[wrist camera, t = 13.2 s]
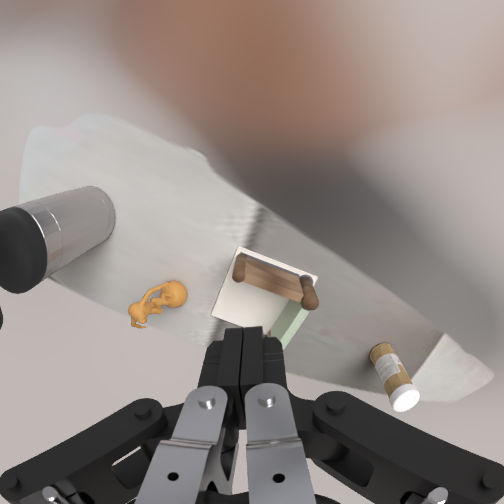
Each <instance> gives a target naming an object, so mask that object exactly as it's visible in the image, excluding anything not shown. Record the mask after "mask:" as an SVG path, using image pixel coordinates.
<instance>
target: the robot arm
mask: <svg viewBox="0 0 504 504" xmlns="http://www.w3.org/2000/svg"><path fill="white" fill-rule="evenodd" d="M114 224H115V211H114V207H113V204H112V202H111V200H110V198H109V197H108V196H107V194H106V193H105V192H103V191H102V190H101V189H99V188H97V187H92V186H87V187H83V188H79V189H74V190H70V191H66V192H62V193H58V194H55V195H51V196H47V197H44V198H40V199H37V200H33V201H30V202H26V203H23V204H20V205H17V206H14V207H11V208H7V209H5V210H2V211H0V286H1V287H2V288H3V289H5V290H7V291H9V292H11V293H16V294H20V293H24V292H27V291H28V290H30V289H32V288H33V287H34V286H36V285H37V284H39V283H40V282H41V281H43V280H44V279H46V278H47V277H49V276H50V275H52V274H53V273H54V272H56V271H57V270H59V269H60V268H62V267H63V266H65V265H66V264H68V263H70V262H71V261H73V260H74V259H76V258H77V257H79V256H80V255H82V254H84V253H85V252H87V251H88V250H90V249H92V248H93V247H95V246H97V245H98V244H100V243H101V242H103V241H105V240H106V239H107V238H108V237H109V236H110V234H111V233H112V230H113V228H114ZM2 324H3V315H2V311H1V308H0V329H1V327H2ZM246 428H247V445H246V457H247V473H248V489H249V492H244V493H240V494H235V495H232V483H233V477H234V472H235V465H236V459H237V453H238V448H239V444H238V438H239V430H244V429H246ZM139 446H140V447H141V449H139V450H138V451H136V452H135V453H133V454H131V455H130V456H128V457H127V458H125V459H124V460H122V461H120V462H119V463H117V464H116V465H113V466H112V464H113V463H114V462H115V461H117V460H119V459H120V458H122V457H123V456H125V455H127V454H128V453H129V452H131V451H133V450H134V449H136V448H137V447H139ZM306 458H311V459H312V461H313V462H314V463H315V464H316V465H317V466H318V467H320V468H321V469H323V470H324V471H326V472H327V473H328V474H330V475H331V476H333V477H334V478H336V479H337V480H338V481H340V482H342V483H343V484H345V485H346V486H348V487H349V488H351V489H352V490H354V491H355V492H357V493H358V494H360V495H362V496H363V497H365V498H366V499H368V500H370V501H371V502H373V503H375V504H495V503H497V502H498V501H499V500H500V499H501V498H502V497H503V496H504V466H503V465H501V464H499V463H497V462H494V461H492V460H489V459H486V458H484V457H481V456H479V455H476V454H474V453H471V452H469V451H467V450H464V449H461V448H459V447H457V446H455V445H452V444H450V443H448V442H446V441H443V440H441V439H439V438H437V437H434V436H432V435H430V434H428V433H425V432H423V431H421V430H419V429H417V428H415V427H413V426H411V425H409V424H407V423H405V422H403V421H401V420H398V419H396V418H395V417H393V416H391V415H389V414H387V413H385V412H383V411H381V410H379V409H377V408H375V407H373V406H371V405H369V404H367V403H365V402H363V401H362V400H360V399H358V398H356V397H354V396H352V395H351V394H348V393H346V392H342V391H331V392H327V393H324V394H322V395H321V396H319V397H318V398H317V399H316V400H315V401H313V400H305V399H301V398H298V397H296V396H294V395H293V394H291V393H290V391H289V390H288V388H287V383H286V374H285V365H284V356H283V348H282V343H281V342H280V341H279V340H278V338H277V337H267V338H264V337H263V327H262V326H254V327H245V328H243V327H242V328H226V329H225V334H224V339H223V341H213V342H212V343H211V345H210V346H209V347H208V348H207V351H206V354H205V359H204V362H203V366H202V370H201V374H200V379H199V383H198V387H197V389H195V390H193V391H192V392H191V393H190V394H189V395H188V396H187V398H186V400H185V402H184V403H182V404H179V405H175V406H170V407H165V408H163V407H162V405H161V404H160V403H159V402H158V401H156V400H154V399H149V398H144V399H138V400H136V401H134V402H132V403H130V404H128V405H127V406H125V407H124V408H122V409H120V410H118V411H117V412H115V413H113V414H112V415H110V416H108V417H107V418H105V419H103V420H101V421H100V422H98V423H96V424H94V425H93V426H91V427H89V428H88V429H86V430H84V431H82V432H80V433H78V434H77V435H75V436H73V437H71V438H69V439H67V440H66V441H64V442H62V443H60V444H58V445H57V446H54V447H53V448H51V449H49V450H47V451H45V452H43V453H41V454H39V455H37V456H35V457H33V458H31V459H29V460H27V461H25V462H23V463H21V464H19V465H17V466H15V467H13V468H11V469H9V470H7V471H5V472H4V473H3V474H2V475H1V477H0V494H1V495H2V497H3V498H5V499H6V500H7V501H8V502H9V503H10V504H126V503H127V502H129V501H130V500H132V499H134V498H135V497H137V498H136V499H134V500H132V501H130V502H129V503H127V504H340V503H338V502H337V501H335V500H332V499H330V498H327V497H325V496H321V495H317V494H314V492H313V487H312V483H311V479H310V474H309V470H308V465H307V461H306Z"/></svg>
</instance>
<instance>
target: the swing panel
mask: <svg viewBox="0 0 504 504" xmlns="http://www.w3.org/2000/svg"><path fill="white" fill-rule="evenodd" d="M308 313H309V310H307V309H306V308H305V307H304V305H303V301H302V300H301V302H300V303H299V302H296V301H294V300H291V299H290V301H289V302H288V304H287V306H286V307H285V309H284V310H283V312H282V313H281V315H280V317H279V318H278V320H277V321H276V323H275V324H274V326H273V327H272V329H271V330H270V331H269V332H268V333H267V337H277V338H278V340H279V341H280V342H281V343H282V348H283V350H284V348H285V347H286V345H287V344H288V343H289V341H290V340H291V338H292V337H293V335H294V334H295V332H296V331H297V330H298V328H299V327H300V325H301V324H302V322H303V321H304V319H305V318H306V316H307V315H308Z"/></svg>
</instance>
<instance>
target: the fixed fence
mask: <svg viewBox="0 0 504 504" xmlns="http://www.w3.org/2000/svg"><path fill="white" fill-rule="evenodd" d="M232 279H233V280H234V281H235V282H237V283H240V282H245V283H248V284H250V285H253V286H256V287H258V288H261V289H264V290H266V291H269V292H272V293H274V294H277V295H280V296H283V297H285V298H288V299H291V300H294V301H296V302H299V303H300V302H301V300H302V301H303V305H304V307H305V308H306V309H307V310H314V309H316V308H317V307H318V305H319V300H318V298H317V295H316V292H315V290H314V287H313V285H312V282H311V280H310V278H308V277H301V278H300V279H299V277H297V276H295V275H292V274H290V273H287V272H284V271H282V270H279V269H276V268H274V267H271V266H269V265H266V264H263V263H261V262H258V261H256V260H253V259H250V258H248V257H247V256H246V255H245V254H242V253H241V254H238V255H237V257H236V261H235V265H234V269H233V273H232Z"/></svg>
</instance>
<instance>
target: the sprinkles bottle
mask: <svg viewBox="0 0 504 504" xmlns="http://www.w3.org/2000/svg"><path fill="white" fill-rule="evenodd" d="M370 359H371V361H372V362H373V364H374V366H375V369H376V371H377V373H378V376H379V378H380V380H381V382H382V384H383V386H384V389H385V390H386V392H387V394H388V396H389V401H390V404H391V406H392V408H393V409H394V410H395V411H397V412H403V411H406V410H408V409H410V408H412V407H413V406H414V405H415V404H416V403H417V402H418V400H419V397H420V395H419V392H418V390H417V388H416V386H415V385H413V384H412V382H411V380H410V378H409V376H408V375H407V373H406V370H405V369H404V367H403V365H402V363H401V362H400V360H399V358H398V357H397V355H396V354H395V352H394V351H393V348H392V346H391V345H390V344H387V343H382V344H379V345H377V346H376V347H374V348H373V349H372V351H371V353H370Z"/></svg>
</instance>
